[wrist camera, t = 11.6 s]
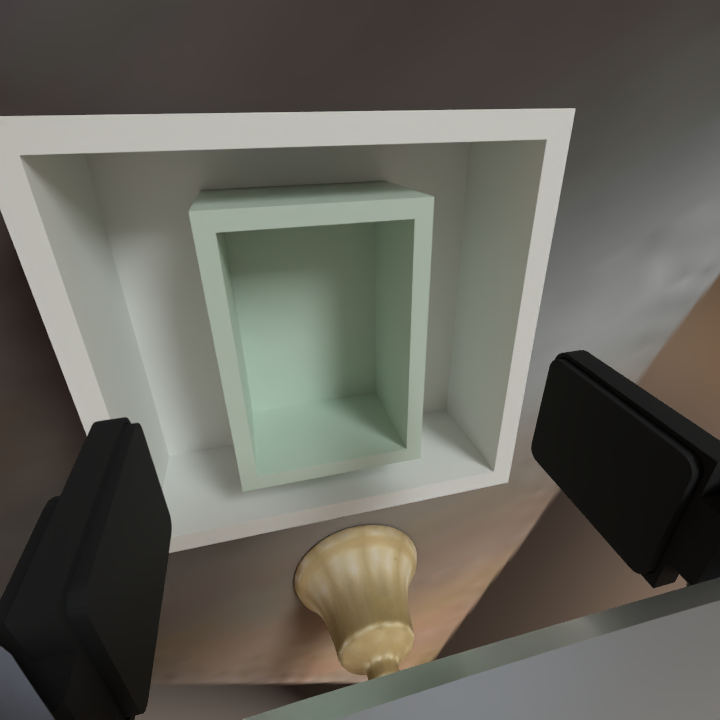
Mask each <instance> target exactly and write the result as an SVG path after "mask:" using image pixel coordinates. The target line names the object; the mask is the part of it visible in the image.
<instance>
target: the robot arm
mask: <svg viewBox="0 0 720 720" xmlns="http://www.w3.org/2000/svg"><path fill="white" fill-rule="evenodd" d="M531 449H532V454H533V456H534V458H535V460H536V461H537V462H538V463H539V464H540V466H541V467H542V468H543V469H544V470H545V471H546V472H547V474H548V475H549V476H550V477H551V478H552V479H553V480H554V482H555V483H556V484H557V485H558V486H559V487H560V488H561V490H562V491H563V492H564V493H565V494H566V495H567V496H568V498H569V499H570V500H571V501H572V502H573V503H574V504H575V505H576V507H577V508H578V509H579V510H580V511H581V512H582V514H583V515H584V516H585V517H586V518H587V519H588V520H589V522H590V523H591V524H592V525H593V526H594V527H595V528H596V529H597V531H598V532H599V533H600V534H601V535H602V536H603V538H604V539H605V540H606V541H607V542H608V543H609V544H610V546H611V547H612V548H613V549H614V550H615V551H616V552H617V554H618V555H619V556H620V557H621V558H622V559H623V560H624V562H626V564H627V565H628V566H629V567H630V568H631V569H632V570H633V571H634V572H636V573H638V574H641V575H642V576H643V577H644V578H645V580H646V581H647V582H648V583H649V584H650V585H651V586H652V587H653V588H656V587H660V586H663V585H666V584H670V583H673V582H675V581H676V579H677V577H678V575H679V574H680V575H681V576H682V577H683V578H684V579H685V580H686V581H687V584H686V585H687V587H684V588H681V589H678V590H674V591H671V592H667V593H664V594H660V595H657V596H654V597H650V598H647V599H643V600H639V601H636V602H632V603H629V604H625V605H622V606H618V607H615V608H612V609H608V610H605V611H601V612H598V613H594V614H591V615H587V616H584V617H581V618H577V619H574V620H570V621H567V622H564V623H560V624H557V625H553V626H550V627H547V628H543V629H540V630H537V631H533V632H529V633H526V634H523V635H519V636H516V637H513V638H509V639H506V640H502V641H499V642H496V643H492V644H489V645H486V646H482V647H479V648H475V649H472V650H469V651H465V652H462V653H458V654H455V655H451V656H448V657H445V658H441V659H438V660H435V661H431V662H428V663H425V664H421V665H418V666H415V667H411V668H408V669H405V670H401V671H398V672H395V673H391V674H388V675H385V676H381V677H378V678H375V679H371V680H368V681H365V682H361V683H358V684H355V685H352V686H348V687H345V688H341V689H338V690H335V691H331V692H328V693H325V694H322V695H318V696H315V697H311V698H308V699H305V700H302V701H298V702H295V703H292V704H289V705H285V706H283V707H279V708H276V709H273V710H270V711H267V712H264V713H260V714H257V715H254V716H251V717H248V718H245V719H242V720H720V441H719V440H718V439H716V438H715V437H713V436H712V435H711V434H709V433H707V432H706V431H705V430H703V429H702V428H700V427H699V426H697V425H696V424H694V423H693V422H691V421H690V420H688V419H687V418H685V417H684V416H682V415H681V414H679V413H678V412H676V411H675V410H673V409H672V408H670V407H669V406H667V405H666V404H664V403H663V402H661V401H660V400H658V399H657V398H655V397H654V396H652V395H651V394H650V393H648V392H646V391H645V390H643V389H642V388H641V387H639V386H638V385H636V384H635V383H633V382H632V381H630V380H629V379H627V378H626V377H624V376H623V375H621V374H620V373H618V372H617V371H615V370H614V369H612V368H611V367H609V366H608V365H606V364H605V363H603V362H602V361H600V360H599V359H597V358H596V357H594V356H593V355H591V354H590V353H589V352H587V351H584V350H579V351H572V352H565V353H561V354H559V355H558V356H557V357H556V358H555V360H554V361H552V363H551V364H550V367H549V372H548V376H547V380H546V385H545V389H544V393H543V398H542V402H541V406H540V411H539V415H538V419H537V423H536V428H535V432H534V436H533V441H532V446H531ZM171 534H172V523H171V517H170V513H169V510H168V507H167V504H166V501H165V497H164V494H163V491H162V488H161V485H160V482H159V479H158V476H157V473H156V469H155V466H154V463H153V460H152V457H151V454H150V451H149V448H148V445H147V441H146V438H145V435H144V432H143V429H142V426H141V425H140V423H132V424H131V422H130V420H129V419H128V418H127V417H123V418H116V419H109V420H102V421H96V422H94V423H93V425H92V426H91V429H90V431H89V433H88V435H87V438H86V440H85V442H84V444H83V447H82V449H81V451H80V453H79V456H78V458H77V460H76V462H75V465H74V467H73V469H72V471H71V474H70V476H69V478H68V480H67V483H66V485H65V487H64V489H63V492H62V494H61V496H56V497H53V498H52V499H50V500H49V501H48V502H47V504H46V506H45V507H44V509H43V511H42V513H41V515H40V518H39V520H38V522H37V524H36V526H35V528H34V530H33V532H32V534H31V537H30V539H29V541H28V543H27V545H26V547H25V549H24V551H23V553H22V556H21V558H20V560H19V562H18V564H17V566H16V568H15V570H14V572H13V575H12V577H11V579H10V581H9V583H8V585H7V587H6V589H5V592H4V594H3V596H2V598H1V600H0V720H134V719H135V715H139V714H142V713H144V712H145V710H146V707H147V703H148V697H149V689H150V683H151V676H152V668H153V661H154V654H155V647H156V640H157V633H158V626H159V619H160V612H161V605H162V598H163V591H164V584H165V576H166V569H167V562H168V555H169V548H170V541H171Z"/></svg>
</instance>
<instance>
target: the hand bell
mask: <svg viewBox="0 0 720 720" xmlns="http://www.w3.org/2000/svg"><path fill="white" fill-rule="evenodd" d="M416 564H417V552H416V548H415V546H414V544H413V542H412V541H411V539H410V538H409V537H408V536H407V535H406V534H404V533H403V532H401V531H399V530H397V529H395V528H392V527H389V526H384V525H363V526H356V527H351V528H348V529H345V530H342V531H339V532H336V533H334V534H332V535H330V536H328V537H326V538H325V539H323V540H322V541H320V542H319V543H317V544H316V545H315V546H314V547H313V548H312V549H311V550H309V551H308V553H307V554H306V555H305V556H304V557H303V559H302V560H301V561H300V563H299V564H298V566H297V570H296V573H295V578H294V586H295V591H296V593H297V595H298V597H299V599H300V600H301V601H302V602H303V604H304V605H305V606H306V607H307V608H308V609H310V610H311V611H313V612H315V613H317V614H319V615H320V616H321V617H322V618H323V620H324V622H325V623H326V625H327V627H328V630H329V632H330V634H331V637H332V640H333V643H334V646H335V649H336V652H337V656H338V660H339V662H340V663H341V665H342V666H343V667H344V668H345V669H346V670H347V671H349V672H351V673H354V674H358V675H367V677H368V680H371V679H375V678H378V677H381V676H385V675H388V674H391V673H395V672H398V671H399V668H398V664H399V663H400V662H402V661H403V660H404V659H405V658H406V657H407V655H408V654H409V653H410V651H411V649H412V647H413V644H414V632H413V628H412V624H411V619H410V614H409V608H408V596H407V595H408V586H409V584H410V582H411V580H412V578H413V576H414V573H415V570H416Z"/></svg>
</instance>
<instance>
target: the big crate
mask: <svg viewBox="0 0 720 720" xmlns="http://www.w3.org/2000/svg"><path fill="white" fill-rule="evenodd" d="M575 109H576V108H565V109H492V110H420V111H347V112H275V113H203V114H130V115H58V116H0V210H1V213H2V215H3V218H4V220H5V223H6V226H7V228H8V231H9V233H10V236H11V239H12V241H13V244H14V247H15V249H16V252H17V254H18V257H19V260H20V262H21V265H22V267H23V270H24V273H25V275H26V278H27V281H28V283H29V286H30V288H31V291H32V294H33V296H34V299H35V301H36V304H37V307H38V309H39V312H40V315H41V317H42V320H43V322H44V325H45V328H46V330H47V333H48V336H49V338H50V341H51V343H52V346H53V349H54V351H55V354H56V356H57V359H58V362H59V364H60V367H61V370H62V372H63V375H64V377H65V380H66V383H67V385H68V388H69V390H70V393H71V396H72V398H73V401H74V404H75V406H76V409H77V411H78V414H79V417H80V419H81V422H82V424H83V427H84V430H85V432H86V435H88V433H89V431H90V429H91V426H92V425H93V423H94V422H96V421H102V420H109V419H116V418H123V417H127V418H128V419H129V420H130V422H131V424H132V423H140V425H141V426H142V429H143V432H144V435H145V438H146V441H147V445H148V448H149V451H150V454H151V457H152V460H153V463H154V466H155V469H156V473H157V476H158V479H159V482H160V485H161V488H162V491H163V494H164V497H165V501H166V504H167V507H168V510H169V513H170V517H171V523H172V534H171V541H170V548H169V553H172V552H177V551H182V550H186V549H191V548H196V547H201V546H206V545H210V544H215V543H220V542H225V541H230V540H234V539H239V538H244V537H249V536H254V535H258V534H263V533H268V532H273V531H277V530H282V529H287V528H292V527H297V526H301V525H306V524H311V523H316V522H321V521H325V520H330V519H335V518H340V517H344V516H349V515H354V514H359V513H364V512H368V511H373V510H378V509H383V508H388V507H392V506H397V505H402V504H407V503H412V502H416V501H421V500H426V499H431V498H435V497H440V496H445V495H450V494H455V493H459V492H464V491H469V490H474V489H479V488H483V487H488V486H493V485H498V484H503V483H507V482H508V480H509V474H510V469H511V463H512V458H513V452H514V447H515V441H516V435H517V430H518V424H519V419H520V413H521V408H522V402H523V397H524V391H525V386H526V380H527V375H528V369H529V363H530V358H531V352H532V347H533V341H534V336H535V330H536V325H537V319H538V314H539V308H540V303H541V297H542V291H543V286H544V280H545V275H546V269H547V264H548V258H549V253H550V247H551V242H552V236H553V231H554V225H555V219H556V214H557V208H558V203H559V197H560V192H561V186H562V181H563V175H564V170H565V164H566V159H567V153H568V147H569V142H570V136H571V131H572V125H573V120H574V114H575ZM367 181H388V182H391V183H394V184H397V185H400V186H403V187H406V188H409V189H412V190H415V191H418V192H422V193H425V194H428V195H431V196H434V214H433V233H432V251H431V270H430V288H429V306H428V325H427V343H426V362H425V380H424V399H423V417H422V436H421V454H420V458H419V459H414V460H409V461H404V462H398V463H393V464H388V465H382V466H377V467H372V468H367V469H361V470H356V471H351V472H345V473H340V474H335V475H330V476H324V477H319V478H314V479H308V480H303V481H298V482H293V483H287V484H282V485H277V486H271V487H266V488H261V489H256V490H250V491H245V492H243V490H242V485H241V480H240V475H239V470H238V464H237V459H236V454H235V449H234V444H233V439H232V434H231V428H230V423H229V418H228V413H227V408H226V403H225V398H224V392H223V387H222V382H221V377H220V372H219V367H218V362H217V356H216V351H215V346H214V341H213V336H212V331H211V326H210V320H209V315H208V310H207V305H206V300H205V295H204V290H203V284H202V279H201V274H200V269H199V264H198V259H197V254H196V248H195V243H194V238H193V233H192V228H191V223H190V218H189V212H188V211H189V209H190V208H191V206H192V204H193V202H194V201H195V199H196V197H197V196H198V194H199V192H200V190H207V189H227V188H247V187H267V186H287V185H307V184H327V183H347V182H367Z"/></svg>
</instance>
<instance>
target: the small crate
mask: <svg viewBox="0 0 720 720" xmlns="http://www.w3.org/2000/svg"><path fill="white" fill-rule="evenodd" d="M188 212H189V218H190V223H191V228H192V233H193V238H194V243H195V248H196V254H197V259H198V264H199V269H200V274H201V279H202V284H203V290H204V295H205V300H206V305H207V310H208V315H209V320H210V326H211V331H212V336H213V341H214V346H215V351H216V356H217V362H218V367H219V372H220V377H221V382H222V387H223V392H224V398H225V403H226V408H227V413H228V418H229V423H230V428H231V434H232V439H233V444H234V449H235V454H236V459H237V464H238V470H239V475H240V480H241V485H242V490H243V492H245V491H250V490H256V489H261V488H266V487H271V486H277V485H282V484H287V483H293V482H298V481H303V480H308V479H314V478H319V477H324V476H330V475H335V474H340V473H345V472H351V471H356V470H361V469H367V468H372V467H377V466H382V465H388V464H393V463H398V462H404V461H409V460H414V459H419V458H420V454H421V436H422V417H423V399H424V380H425V362H426V343H427V325H428V306H429V288H430V270H431V251H432V233H433V214H434V196H431V195H428V194H425V193H422V192H418V191H415V190H412V189H409V188H406V187H403V186H400V185H397V184H394V183H391V182H388V181H367V182H347V183H327V184H307V185H287V186H267V187H247V188H227V189H207V190H200V192H199V194H198V196H197V197H196V199H195V201H194V202H193V204H192V206H191V208H190V209H189V211H188Z"/></svg>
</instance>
